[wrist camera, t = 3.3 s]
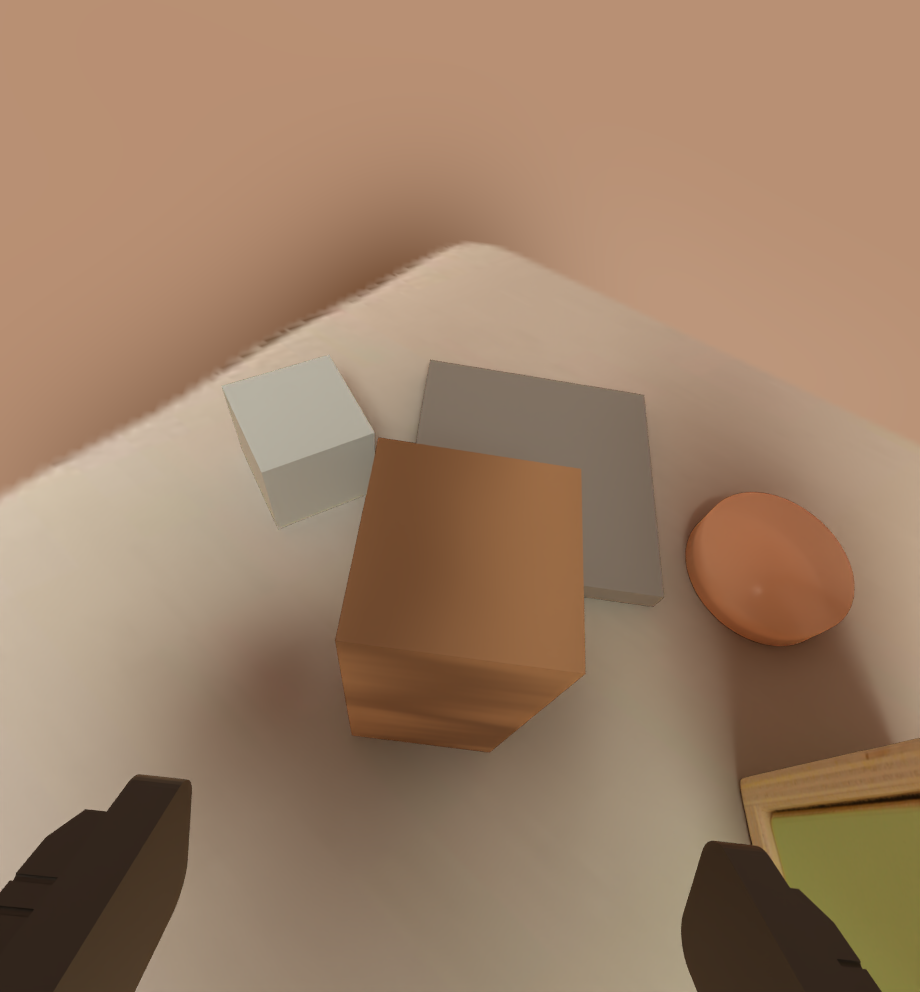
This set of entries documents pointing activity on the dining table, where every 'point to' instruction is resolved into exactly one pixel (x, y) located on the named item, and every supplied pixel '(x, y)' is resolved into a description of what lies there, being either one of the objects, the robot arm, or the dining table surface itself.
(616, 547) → the slate coaster
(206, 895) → the dining table surface
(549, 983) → the dining table surface
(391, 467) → the walnut block
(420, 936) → the dining table surface
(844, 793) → the toy refrigerator
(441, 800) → the dining table surface
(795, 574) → the orange disc
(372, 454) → the grey cube
